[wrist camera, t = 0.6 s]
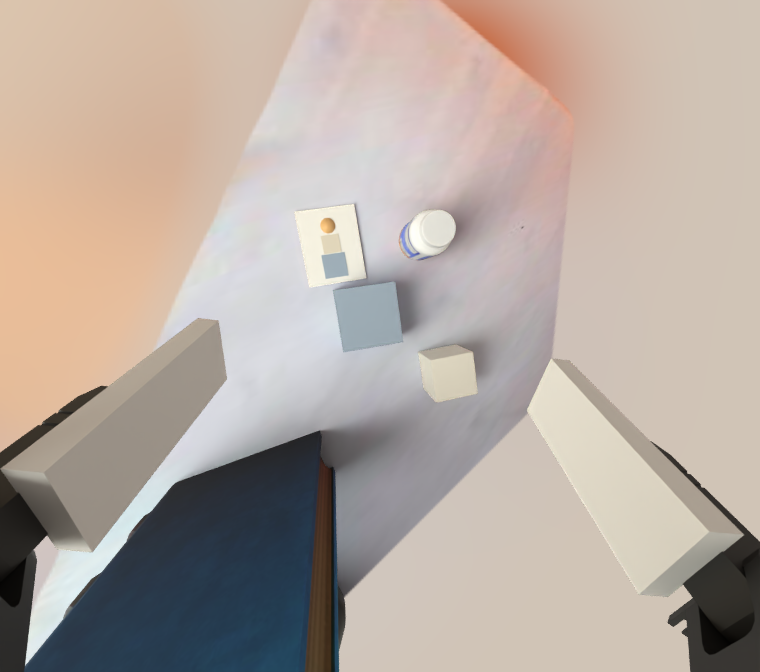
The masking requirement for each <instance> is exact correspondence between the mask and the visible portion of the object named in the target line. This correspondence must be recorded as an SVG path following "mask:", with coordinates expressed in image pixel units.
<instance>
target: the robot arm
mask: <svg viewBox="0 0 760 672" xmlns="http://www.w3.org/2000/svg"><path fill="white" fill-rule="evenodd" d="M226 380H227V376H226V369H225V362H224V355H223V348H222V341H221V334H220V328H219V321H218V320H210V319H201V318H198V319H196V320H195V321H194V322H192V323H191V324H190V325H188V326H187V327H186V328H184V329H183V330H182V331H180V332H179V333H178V334H177V335H175V336H174V337H173V338H171V339H170V340H169V341H167V342H166V343H165V344H163V345H162V346H161V347H159V348H158V349H157V350H156V351H154V352H153V353H152V354H150V355H149V356H148V357H146V358H145V359H144V360H142V361H141V362H140V363H138V364H137V365H136V366H135V367H133V368H132V369H131V370H129V371H128V372H127V373H125V374H124V375H123V376H121V377H120V378H119V379H117V380H116V381H115V382H114V383H112V384H111V385H110V386H100V387H98V388H96V389H94V390H91V391H89V392H87V393H85V394H83V395H80V396H78V397H77V398H75V399H74V400H73V401H71V402H70V403H68V404H67V405H66V406H64V407H63V408H61V409H60V410H59V412H58V413H55V414H53V415H52V416H50V417H49V418H48V419H46V420H45V421H43V424H42V425H38V426H36V427H35V428H34V429H33V430H31V431H29V432H28V433H27V434H25V435H24V436H22V437H21V438H20V439H18V440H17V441H16V442H14V443H13V444H11V445H10V446H9V447H7V448H6V449H4V450H3V451H2V452H1V453H0V672H24V668H25V660H26V651H27V642H28V634H29V625H30V616H31V608H32V599H33V590H34V581H35V573H36V564H37V559H36V555H35V552H34V550H33V549H34V548H35V547H36V546H37V545H38V544H39V543H40V542H41V541H42V540H43V539H44V538H45V537H46V536H48V537H49V538H50V540H51V541H52V543H53V544H54V546H55V547H56V548H57V550H68V551H81V552H93V551H94V550H95V548H96V547H97V546H98V544H99V543H100V542H101V541H102V539H103V538H104V537H105V535H106V534H107V533H108V532H109V530H110V529H111V528H112V526H113V525H114V524H115V523H116V521H117V520H118V519H119V517H120V516H121V515H122V514H123V512H124V511H125V510H126V508H127V507H128V506H129V505H130V503H131V502H132V501H133V499H134V498H135V497H136V495H137V494H138V493H139V492H140V490H141V489H142V488H143V486H144V485H145V484H146V483H147V481H148V480H149V479H150V477H151V476H152V475H153V474H154V472H155V471H156V470H157V468H158V467H159V466H160V465H161V463H162V462H163V461H164V459H165V458H166V457H167V456H168V454H169V453H170V452H171V450H172V449H173V448H174V447H175V445H176V444H177V443H178V441H179V440H180V439H181V438H182V436H183V435H184V434H185V432H186V431H187V430H188V428H189V427H190V426H191V425H192V423H193V422H194V421H195V419H196V418H197V417H198V416H199V414H200V413H201V412H202V410H203V409H204V408H205V407H206V405H207V404H208V403H209V401H210V400H211V399H212V398H213V396H214V395H215V394H216V392H217V391H218V390H219V389H220V387H221V386H222V385H223V383H224V382H225V381H226ZM527 412H528V413H529V415H530V417H531V418H532V420H533V422H534V423H535V425H536V427H537V428H538V430H539V431H540V433H541V435H542V436H543V438H544V440H545V441H546V443H547V445H548V446H549V448H550V449H551V451H552V453H553V454H554V456H555V458H556V459H557V461H558V463H559V464H560V466H561V468H562V469H563V471H564V472H565V474H566V476H567V477H568V479H569V481H570V482H571V484H572V486H573V487H574V489H575V491H576V492H577V494H578V496H579V497H580V499H581V501H582V502H583V504H584V505H585V507H586V508H587V510H588V512H589V514H590V515H591V517H592V519H593V520H594V522H595V523H596V525H597V527H598V529H599V530H600V532H601V533H602V535H603V537H604V538H605V540H606V541H607V543H608V545H609V547H610V548H611V550H612V552H613V553H614V555H615V556H616V558H617V560H618V561H619V563H620V565H621V566H622V568H623V570H624V571H625V573H626V574H627V576H628V578H629V579H630V581H631V583H632V584H633V586H634V588H635V589H636V591H637V593H638V594H639V595H650V596H663V597H668V596H670V595H671V594H672V593H673V592H674V591H676V590H677V589H678V588H679V587H681V586H682V585H684V586H685V588H686V589H687V590H688V591H689V593H690V594H691V596H692V597H693V598H692V599H691V600H690V601H688V602H687V603H686V604H684V605H683V606H682V607H680V608H679V609H678V610H677V611H675V612H674V613H673V614H671V615H670V616H669V619H668V624H670V625H671V626H673V627H674V626H675V625H677V624H678V623H679V622H681V621H682V620H683V619H684V620H687V628H685V629H684V630H683V631H682V634H684V635H685V636H687V637H688V645H689V659H690V671H691V672H760V542H759V541H758V540H757V539H756V538H755V537H754V536H753V535H752V534H751V533H750V532H749V531H748V530H747V529H746V528H745V527H744V526H743V525H742V524H741V523H740V522H739V521H738V520H737V519H736V518H735V517H734V516H733V515H732V514H730V513H729V511H728V510H727V509H725V508H724V507H723V506H722V505H721V504H720V503H719V502H718V501H717V500H716V499H715V498H714V497H713V496H712V495H711V494H710V493H709V492H708V491H707V490H706V489H705V488H702V487H701V484H700V483H699V482H698V481H697V480H696V479H695V478H694V477H693V476H692V475H691V474H687V471H686V470H685V469H684V468H683V467H682V466H681V465H680V464H679V463H678V462H677V461H676V460H675V459H674V458H673V457H672V456H671V455H670V454H668V453H667V452H666V451H664V450H663V449H661V448H660V447H658V446H657V445H656V444H654V443H653V442H651V441H649V440H648V439H647V438H646V437H645V436H644V435H643V434H642V433H641V432H640V431H639V430H638V429H637V428H636V427H635V426H634V425H633V424H632V423H631V422H630V421H629V420H628V419H627V418H626V417H625V416H624V415H623V414H622V413H621V412H620V411H619V410H618V409H617V408H616V407H615V406H614V405H613V404H612V403H611V402H610V401H609V400H608V399H607V398H606V397H605V396H604V395H603V394H602V393H601V392H600V391H599V390H598V389H597V388H596V387H595V386H594V385H593V384H592V383H591V382H590V381H589V380H588V379H587V378H586V377H585V376H584V375H583V374H582V373H581V372H580V371H579V370H578V369H577V368H576V367H575V366H574V365H573V364H572V363H571V362H570V361H568V360H558V359H551V360H550V362H549V364H548V366H547V368H546V370H545V373H544V375H543V377H542V379H541V381H540V383H539V385H538V388H537V390H536V392H535V394H534V396H533V398H532V401H531V403H530V405H529V407H528V409H527ZM337 590H338V642H339V648H340V644H341V640H342V636H343V632H344V628H345V601H344V597H343V594H342V592H341V590H340V589H339V588H338V586H337Z"/></svg>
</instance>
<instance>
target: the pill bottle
mask: <svg viewBox="0 0 760 672" xmlns="http://www.w3.org/2000/svg"><path fill="white" fill-rule="evenodd" d="M455 232H456V224H455V221H454V219H453V217H452V216H451V215H450V214H449V213H448V212H446V211H443V210H434V209H429V210H425V211H423V212H421V213H419V214H418V215H417V216H416V217H415V218H413V219H412V220H411V221H410V222H409V223H408V224H407V225H406V226H405V227H404V228H403V229H402V231H401V233H400V236H399V246H400V249H401V251H402V252H403V254H404V255H405V256H407V257H408V258H410V259H412V260H423V259H426V258H429V257H432V256H435V255H438V254H440V253H442V252H443V251H444V250H446V248H447V247H448V246H449V244H450V243H451V241H452V239H453V238H454V235H455Z"/></svg>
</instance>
